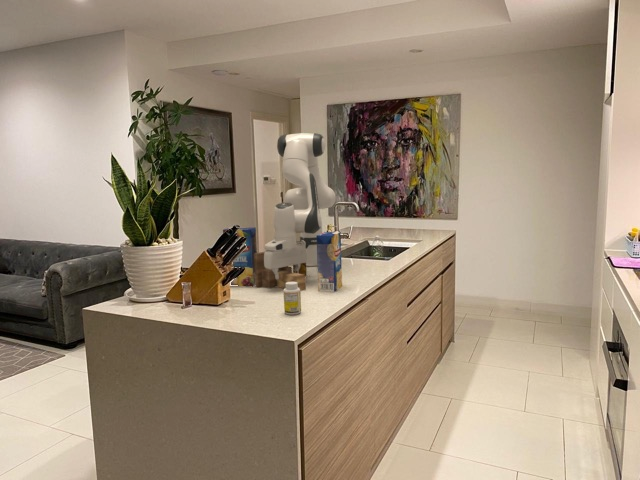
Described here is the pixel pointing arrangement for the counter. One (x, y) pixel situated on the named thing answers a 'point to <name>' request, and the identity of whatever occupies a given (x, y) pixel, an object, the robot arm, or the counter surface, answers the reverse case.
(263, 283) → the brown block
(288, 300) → the supplement bottle
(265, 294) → the counter surface
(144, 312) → the counter surface
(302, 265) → the condiment
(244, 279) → the juice carton
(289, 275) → the rail
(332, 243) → the beverage box
